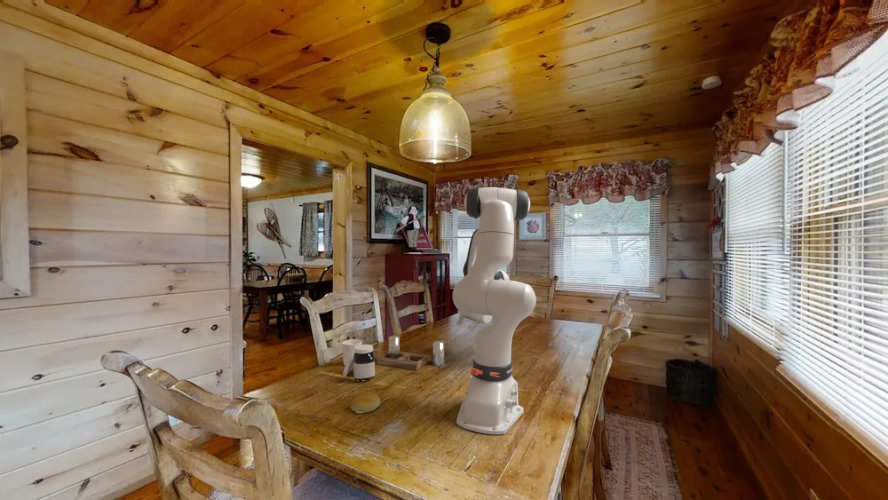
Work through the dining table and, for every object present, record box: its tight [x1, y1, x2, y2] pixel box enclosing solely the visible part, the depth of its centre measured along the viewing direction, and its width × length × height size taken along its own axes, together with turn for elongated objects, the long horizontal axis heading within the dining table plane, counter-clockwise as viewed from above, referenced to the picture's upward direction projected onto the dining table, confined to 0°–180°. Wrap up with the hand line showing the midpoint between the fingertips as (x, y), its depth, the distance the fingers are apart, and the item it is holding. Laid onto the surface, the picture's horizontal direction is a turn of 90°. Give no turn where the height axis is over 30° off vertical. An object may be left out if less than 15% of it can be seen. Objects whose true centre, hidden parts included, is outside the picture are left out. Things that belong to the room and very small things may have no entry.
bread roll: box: [349, 391, 382, 413], centre depth 103 cm, size 8×9×4 cm
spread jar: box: [342, 344, 376, 381], centre depth 126 cm, size 12×11×12 cm
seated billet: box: [388, 335, 401, 359], centre depth 141 cm, size 4×4×10 cm
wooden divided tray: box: [376, 350, 431, 371], centre depth 139 cm, size 12×18×3 cm, turn 67°
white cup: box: [341, 338, 363, 367], centre depth 138 cm, size 8×8×10 cm
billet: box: [432, 340, 445, 369], centre depth 138 cm, size 4×4×10 cm
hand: (463, 327), depth 143 cm, fingers open, 8 cm apart
